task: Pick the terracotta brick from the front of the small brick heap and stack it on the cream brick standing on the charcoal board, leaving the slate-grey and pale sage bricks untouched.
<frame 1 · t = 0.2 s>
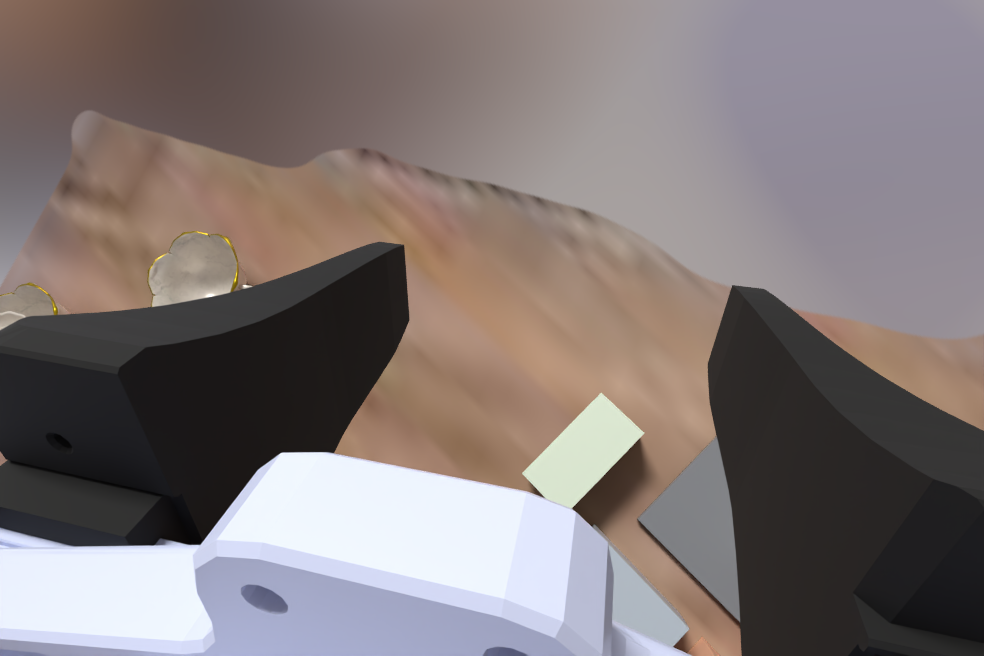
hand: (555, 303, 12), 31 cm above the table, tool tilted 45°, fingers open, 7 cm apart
chinaware: (151, 355, 50), on the table
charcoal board: (818, 585, 36), on the table
slate brick: (616, 586, 38), on the table
sage brick: (583, 454, 41), on the table
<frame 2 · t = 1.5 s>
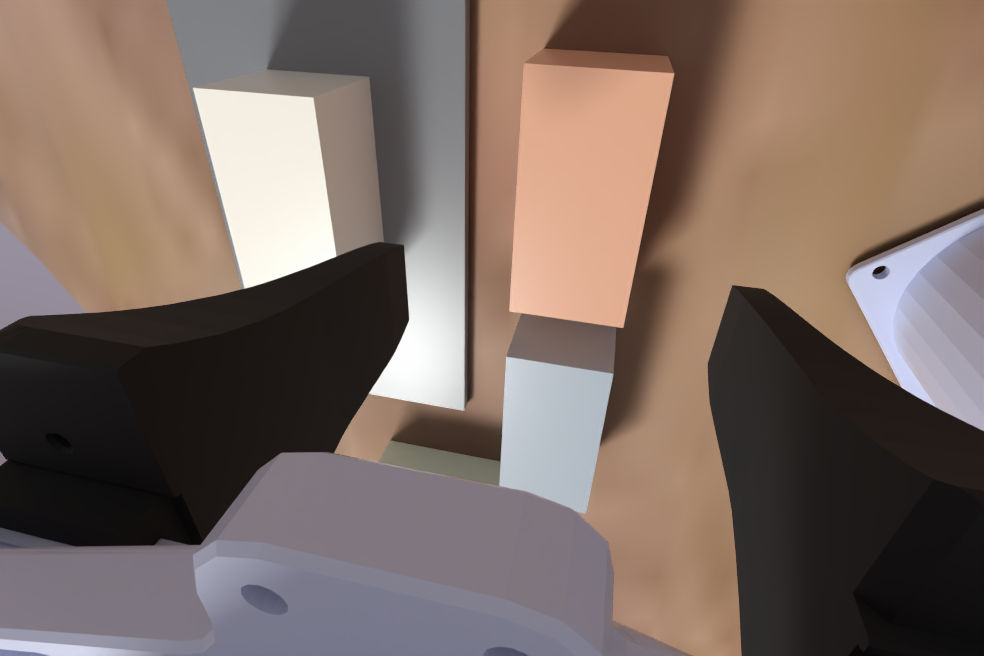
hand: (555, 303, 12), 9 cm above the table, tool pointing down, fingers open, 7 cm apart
cream brick: (332, 182, 21), point 1 cm above the table, touching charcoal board
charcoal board: (339, 177, 22), on the table
slate brick: (561, 382, 25), on the table
sage brick: (459, 475, 31), on the table
terracotta brick: (589, 172, 20), on the table
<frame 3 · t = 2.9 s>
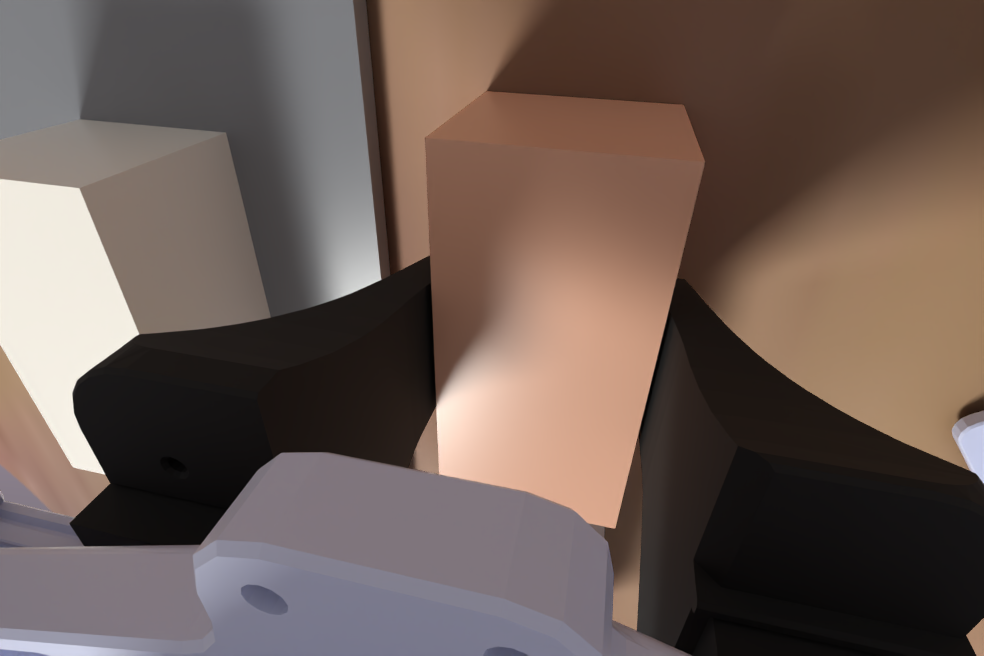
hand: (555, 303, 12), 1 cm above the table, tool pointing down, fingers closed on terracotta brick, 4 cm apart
cream brick: (198, 274, 15), point 1 cm above the table, touching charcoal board
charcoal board: (211, 265, 15), on the table
terracotta brick: (562, 272, 13), on the table, touching gripper
when the fingers open (7 cm above the table, at t = 5.8 s): terracotta brick drops 1 cm, resting on cream brick.
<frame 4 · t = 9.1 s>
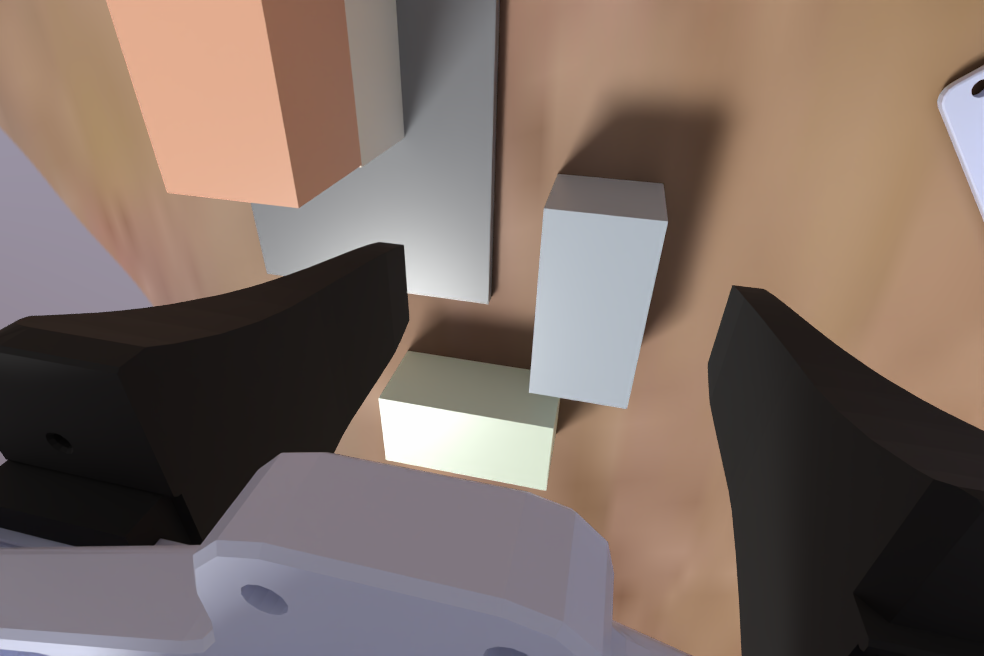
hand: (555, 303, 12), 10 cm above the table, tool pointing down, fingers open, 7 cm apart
cream brick: (343, 16, 19), point 1 cm above the table, touching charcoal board, terracotta brick
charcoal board: (350, 15, 19), on the table
slate brick: (596, 269, 23), on the table
sage brick: (483, 390, 28), on the table
terracotta brick: (282, 21, 16), point 5 cm above the table, touching cream brick
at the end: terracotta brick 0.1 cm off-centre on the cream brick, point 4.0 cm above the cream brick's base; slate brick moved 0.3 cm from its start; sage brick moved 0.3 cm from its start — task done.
